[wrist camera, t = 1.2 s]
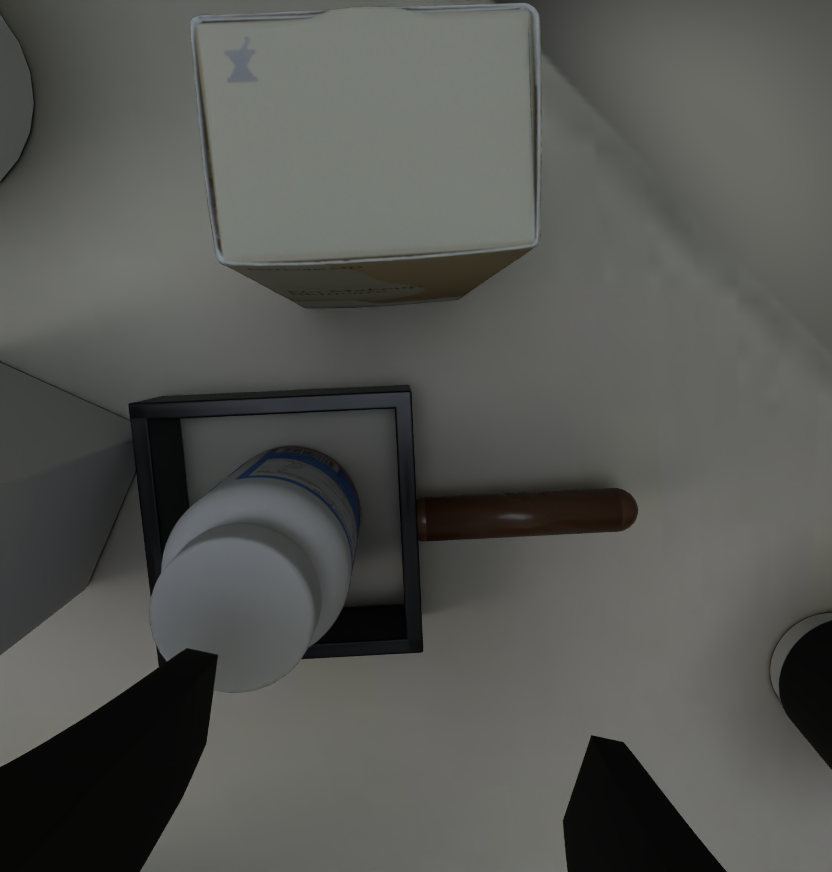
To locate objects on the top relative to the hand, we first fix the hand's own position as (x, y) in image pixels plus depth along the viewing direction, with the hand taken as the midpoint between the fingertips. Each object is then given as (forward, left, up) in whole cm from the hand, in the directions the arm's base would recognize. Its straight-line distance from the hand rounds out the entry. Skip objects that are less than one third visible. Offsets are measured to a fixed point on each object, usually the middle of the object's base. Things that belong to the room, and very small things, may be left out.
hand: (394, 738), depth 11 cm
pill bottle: (-4, +1, -13) cm, 14 cm away
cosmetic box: (0, +11, -13) cm, 17 cm away
